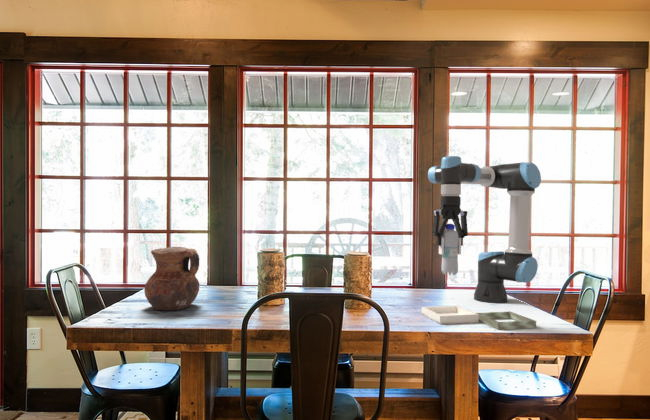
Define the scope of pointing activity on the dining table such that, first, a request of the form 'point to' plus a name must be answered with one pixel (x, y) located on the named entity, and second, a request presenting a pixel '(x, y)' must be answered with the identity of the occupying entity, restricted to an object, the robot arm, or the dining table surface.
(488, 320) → the rim
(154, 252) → the jug
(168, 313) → the dining table surface
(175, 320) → the dining table surface
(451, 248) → the bottle
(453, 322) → the cream dish
